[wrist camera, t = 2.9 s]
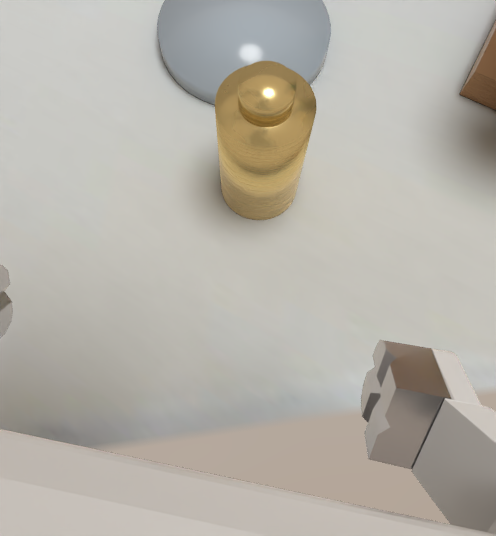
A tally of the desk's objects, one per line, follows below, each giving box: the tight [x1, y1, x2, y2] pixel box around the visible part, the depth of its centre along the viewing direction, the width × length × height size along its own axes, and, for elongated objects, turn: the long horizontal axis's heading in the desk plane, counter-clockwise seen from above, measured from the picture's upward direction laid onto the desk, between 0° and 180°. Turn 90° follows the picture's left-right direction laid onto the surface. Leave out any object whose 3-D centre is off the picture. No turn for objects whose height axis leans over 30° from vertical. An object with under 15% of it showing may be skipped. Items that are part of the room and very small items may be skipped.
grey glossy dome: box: [157, 0, 331, 105], centre depth 29 cm, size 11×11×1 cm
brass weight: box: [215, 61, 316, 220], centre depth 22 cm, size 4×4×8 cm
